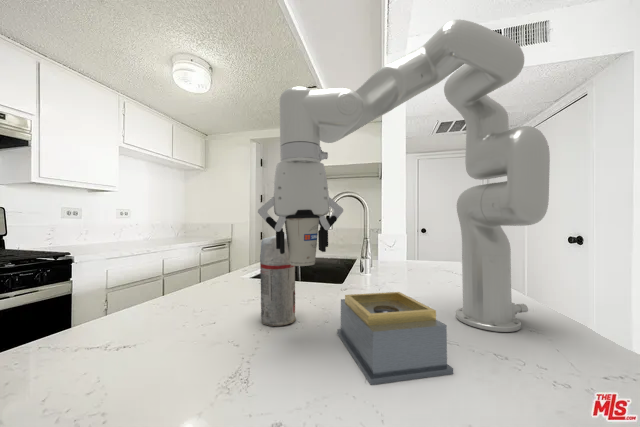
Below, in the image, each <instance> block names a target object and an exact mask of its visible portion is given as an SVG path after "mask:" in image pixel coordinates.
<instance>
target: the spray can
mask: <svg viewBox="0 0 640 427" xmlns="http://www.w3.org/2000/svg"><path fill="white" fill-rule="evenodd" d="M284 241H285V253H284V254H280V249H276V234H275V235H271V236H269V237H264V238H262V240H261V244H260V256H259V260H260V261H259V263H260V264H259V265H260V266H259V267H260V272H259V273H260V318H261V323H262V324H263V325H265V326H269V327H279V326H285V325H289V324H293V323H295V321H296V319H297V317H296V273H295V272H296V266H293V265H291V264H290V258H289V250H288V243H287V236H286V233H284Z"/></svg>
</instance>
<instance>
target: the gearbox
mask: <svg viewBox="0 0 640 427" xmlns="http://www.w3.org/2000/svg"><path fill="white" fill-rule="evenodd" d="M447 330H448V329H447V324H445V323H443V322H441V321H440V320H438V319H437V310H435V309H434V308H432V307H429V306H428V305H425V303H422V302H420V301H418V300H416V299H414V298H412V297H410V296H408V295H406V294H404V293H402V292H400V291H392V292H390V291H389V292H373V293H372V292H371V293H356V294H355V293H353V294H344V298H343V299H340V328H339V329H336V333H337V335H338V337H339V338H340V340H341V341H342V343H343V345H344V346H345V348H346V349H347V351H348V352H349V354H350V356H351V357H352V359H353V360H354V362H355V363H356V364H357V366H358V368H359V369H360V371H361V372H362V374H363V376H364V377H365V378H366V380H367V382H369V384H370V386H375V385H381V384H389V383H396V382H405V381H411V380H419V379H425V378H426V379H427V378H434V377H440V376H441V377H442V376H448V375H453V374H454V368H453V367H452V366H451V365H449V363H448V357H447V356H448V348H447V347H448V346H447V345H448V342H447V341H448V340H447V339H448V338H447V337H448V336H447V335H448V334H447V332H448V331H447Z"/></svg>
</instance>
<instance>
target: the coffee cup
mask: <svg viewBox="0 0 640 427" xmlns="http://www.w3.org/2000/svg"><path fill="white" fill-rule="evenodd" d="M319 218H320V217H319V216H318V215H314V214H313V212H312V210H297V212H296V214H295V215H289V216H287V217H286V218H285V219H286V221H285V223H284V227H285V234H286V236H287V243H288V250H289V258H290V264H291V265H293V266H295V267H305V266H306V267H307V266H309V267H310V266H314V265H315V264H316V258H317V257H316V255H317V247H318V246H317V244H318V231H319V227H320V225H319Z"/></svg>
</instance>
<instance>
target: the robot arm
mask: <svg viewBox="0 0 640 427" xmlns="http://www.w3.org/2000/svg"><path fill="white" fill-rule="evenodd" d="M524 65H525V54H524V51H523V49H522V48H521V47H520V45H519V44H518V43H517V42H516V41H514V40H513V39H511V38H509V37H508V36H505V35H504V34H501V33H499V32H497V31H495V30H493V29H490V28H488V27H487V26H484V25H482V24H479V23H476V22H474V21H469V20H465V19H453V20H449V21H447V22H446V23H444V24H443V25H442V26H441V27H440V28H439V29H438V31H436V32H435V33H434V34H433V35H432V36H431V37H430V38H429V39H428V40H427V41H426V42H425V43H424V44H423V45H421V46H420V47H417V49H415V50H412V51H411V52H409V53H406V54H405V55H403V56H400V57H398V58H397V59H395V60H393V61H391V62H389V63H386V64H385V65H383V66H382V67H381V68H379V69H378V70H376V72H375V73H373V74H372V75H371V76H370V77H369V78H368V79H367V80H365V82H364V83H363V84H362V85H361V86H360V87H358V88H357V89H356V90H353V89H351V88H348V87H346V88H345V87H331V88H321V89H320V88H319V89H312V88H309V87H306V86H292V87H289V88H287V89H285V90H283V92H282V93H281V94H280V96H279V141H280V142H279V143H280V144H279V146H280V148H279V149H280V150H279V151H280V162H278V163H277V164H276V167H275V172H274V173H275V174H274V179H273V180H274V182H273V196H272V197H271V198H270V199H269V200H268V201H267V202H265V203H264V204H263V205H262V206H261V207H259V208H258V209H257V213H258V215H260V217H261V218H263V220H264V221H265V222H266V224H268V226H270V227H271V228H272V229H273V230H274V231H275V235H276V249H280V254H284V253H285V241H284V234H285V232H284V228H283V227H284V226H285V221H286V219H285V218H286V217H287V216H289V215H295V214H296V212H297V210H312V212H313V214H314V215H318V216H319V217H320V218H319V229H318V236H317V243H318V250H319V251H320V252H322V253H325V252H327V250H326V249H327V247H329V230H330V229H331V228H332V226H333V225H334V224H335V223H336V222H337V221H338V219H339V218H340V217H341V215H342V213H344V209H343V207H341V205H340V204H338V203H337V202H336V201H335V200H334V199H332V198H331V197H330V195H329V194H330V193H329V187H328V186H329V183H328V179H327V174H326V173H327V172H326V168H325V164H324V163H323V162H322V161H324V160H328V158H329V156H328V155H329V154H328V152H326V151H323V150H322V147H321V142H322V143H324V144H333V143H336V142H338V141H340V140H342V139H344V138H346V137H347V136H349V135H351V134H353V133H354V132H356V131H358V130H360V129H361V128H363V127H364V126H366V125H368V124H369V123H371V122H373V121H375V120H376V119H378V118H379V117H383V115H386V114H388V113H389V112H391V111H392V110H394V109H396V108H397V107H399V106H401V105H403V104H404V103H405V102H408V101H409V100H411V99H412V98H414V97H416V96H418V95H420V94H422V93H424V92H425V91H427V90H429V89H430V88H433V87H434V86H436V85H438V84H439V83H440V82H441V81H443V80H445V79H446V78H447V77H448V78H447V80H445V83H444V86H443V92H444V97H445V99H446V100H447V102H448V103H449V104H450V105H451V106H452V107H453V108H454V109H455V110H456V111H458V113H459V114H460V115H461V117H462V118H463V120H464V122H465V130H466V131H465V132H466V133H465V134H466V137H465V162H464V163H465V171H466V173H467V175H468V176H469V177H470V178H471V179H475V180H482V181H484V180H491V179H496V178H497V179H498V178H503V177H506V178H507V179H506V181H500V182H491V183H485V184H479V185H475V186H472V187H469V188H467V189H465V190H463V191H462V193H460V195H459V196H458V199H457V201H456V213H457V216H458V218H457V219H458V221H459V226H460V233H461V234H460V235H461V261H462V262H461V270H462V272H461V273H462V275H461V276H462V278H461V279H462V308H458V309H457V310H456V311H455V317H456V319H457V320H459V321H460V322H461V323H464V324H466V325H468V326H471V327H473V328H477V329H480V330H485V331H492V332H501V333H509V332H510V333H512V332H517V331H519V330H521V328H522V323H521V320H520V319H518V318H517V317H516V315H517V314H519V313H520V314H522V313H523V314H524V313H528V312H529V308H528V305H527V304H525V303H514V302H512V267H511V266H512V265H511V264H512V263H511V261H512V259H511V255H512V254H511V253H512V252H511V244H510V240H509V237H508V236H507V234H506V233H505V231H504V230H503V228H502V226H503V227H505V226H509V227H510V226H512V227H513V226H514V227H515V226H516V227H522V226H526V227H527V226H533V225H535V224H538V223H539V222H541V221H542V220H543V219H544V218H545V216H546V214H547V212H548V208H549V200H550V171H551V170H550V166H551V165H550V161H551V159H550V158H551V156H550V147H549V146H550V145H549V143H548V141H547V138H546V136H545V135H544V134H543V132H542V131H541V130H540V129H538V128H536V127H535V126H529V125H525V126H518V127H514V128H511V129H509V128H510V126H509V113H508V112H507V110H506V108H505V107H504V106H503V105H502V104H500V103H499V102H497V101H496V100H495V99H493V98H492V97H490V96H489V95H488V94H490V93H492V92H494V91H495V90H498V89H500V88H502V87H504V86H506V85H507V84H509V83H510V82H512V81H513V80H515V79H516V78H517V77H519V75H520V73H521V72H522V70H523V69H524ZM272 208H273V211H274V212H273V213H274V214H275V216H277V217H278V218H277V220H275V219H273V217H272V216H271V215H270V214H269V212H268V211H270V209H272ZM330 209H331V210H332V213H331V214H330V216H329V217H328V218H327V217H326V215H328V214H329V212H330Z"/></svg>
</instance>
